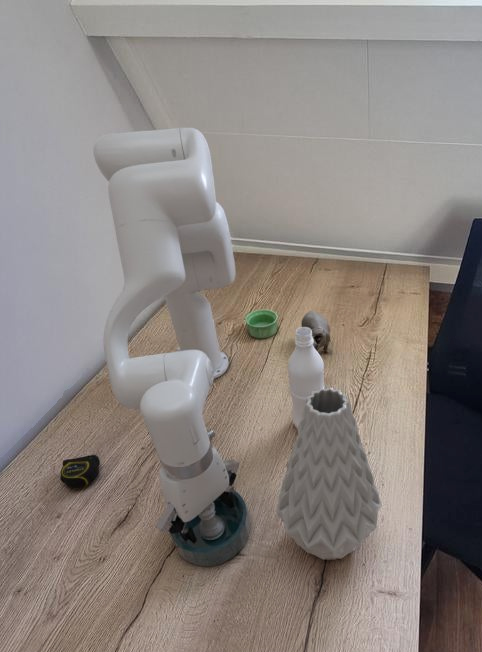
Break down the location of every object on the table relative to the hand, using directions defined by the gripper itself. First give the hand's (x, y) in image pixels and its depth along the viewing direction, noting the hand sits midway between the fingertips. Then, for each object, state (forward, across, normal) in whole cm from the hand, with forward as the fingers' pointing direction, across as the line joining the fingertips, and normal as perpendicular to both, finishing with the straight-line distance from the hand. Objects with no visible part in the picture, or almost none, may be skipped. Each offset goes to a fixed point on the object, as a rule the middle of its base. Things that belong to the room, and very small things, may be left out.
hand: (209, 519), depth 79 cm
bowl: (+4, 0, 0) cm, 4 cm away
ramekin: (+4, -52, -37) cm, 64 cm away
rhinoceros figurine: (+4, -53, -19) cm, 56 cm away
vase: (+4, -12, +17) cm, 21 cm away
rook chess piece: (+4, 0, 0) cm, 4 cm away
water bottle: (+4, -31, -3) cm, 31 cm away
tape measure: (+4, +8, -31) cm, 32 cm away
